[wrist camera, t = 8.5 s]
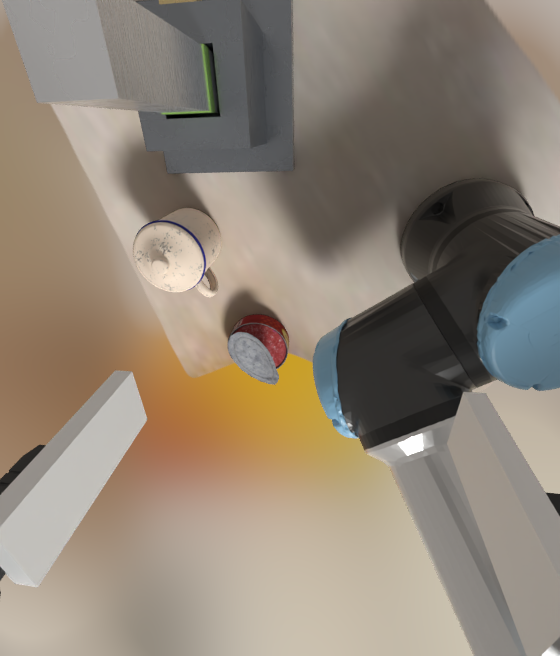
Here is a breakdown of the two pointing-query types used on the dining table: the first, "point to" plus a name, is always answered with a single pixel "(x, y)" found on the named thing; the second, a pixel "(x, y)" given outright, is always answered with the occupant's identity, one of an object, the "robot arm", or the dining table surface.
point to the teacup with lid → (179, 251)
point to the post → (111, 57)
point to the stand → (232, 88)
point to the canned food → (259, 346)
